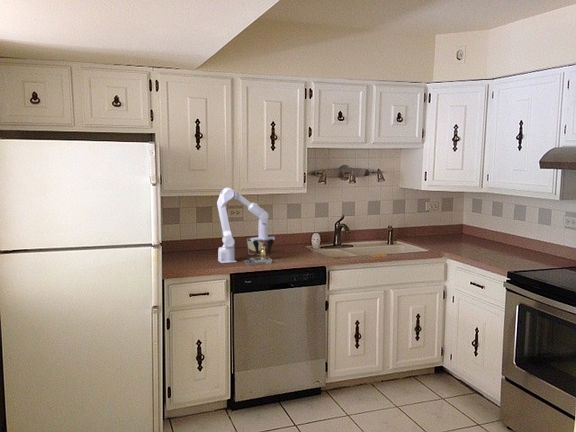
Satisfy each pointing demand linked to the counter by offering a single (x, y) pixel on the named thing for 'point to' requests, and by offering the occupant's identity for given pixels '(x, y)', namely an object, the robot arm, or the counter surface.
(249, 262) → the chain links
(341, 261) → the counter surface
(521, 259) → the counter surface
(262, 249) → the brass pin
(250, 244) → the food container
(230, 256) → the robot arm
